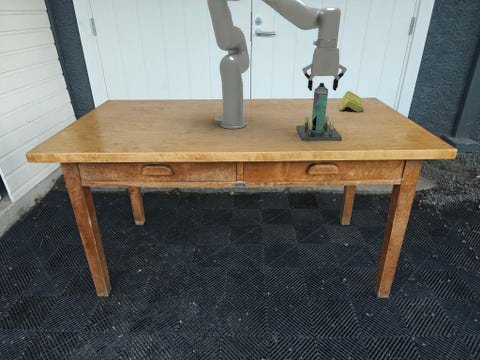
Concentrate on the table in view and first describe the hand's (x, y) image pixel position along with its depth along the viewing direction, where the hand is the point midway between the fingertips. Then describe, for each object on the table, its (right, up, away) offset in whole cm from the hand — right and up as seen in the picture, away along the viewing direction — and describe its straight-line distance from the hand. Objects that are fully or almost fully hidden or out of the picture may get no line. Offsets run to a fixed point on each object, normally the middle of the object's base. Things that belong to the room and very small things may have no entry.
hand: (322, 90), depth 129 cm
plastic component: (+28, +3, +48) cm, 56 cm away
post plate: (0, -17, +9) cm, 19 cm away
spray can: (0, -15, +8) cm, 18 cm away
